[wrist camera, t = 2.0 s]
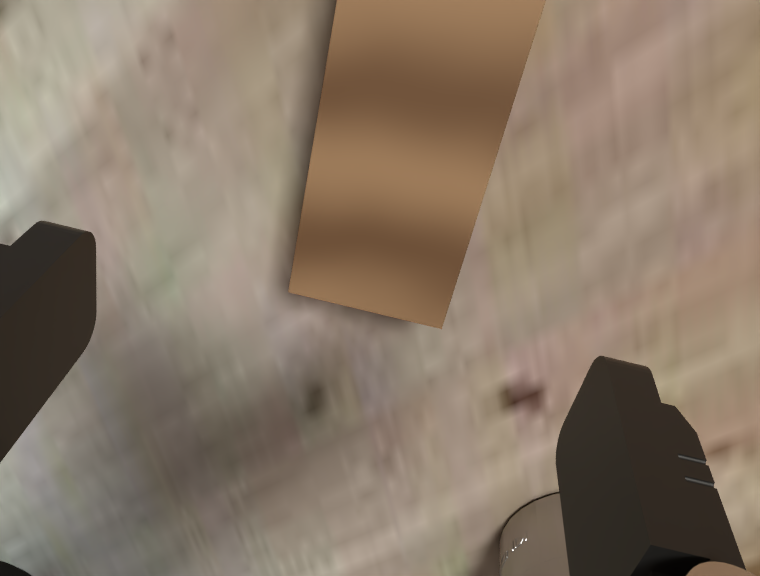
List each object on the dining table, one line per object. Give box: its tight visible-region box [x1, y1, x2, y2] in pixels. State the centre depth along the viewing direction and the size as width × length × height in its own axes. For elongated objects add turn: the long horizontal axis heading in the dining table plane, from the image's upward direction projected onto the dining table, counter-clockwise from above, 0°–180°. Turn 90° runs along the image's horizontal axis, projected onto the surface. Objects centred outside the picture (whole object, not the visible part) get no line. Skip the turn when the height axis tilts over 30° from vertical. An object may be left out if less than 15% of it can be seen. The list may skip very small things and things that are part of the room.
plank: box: [288, 0, 546, 329], centre depth 25 cm, size 18×6×5 cm, turn 168°
